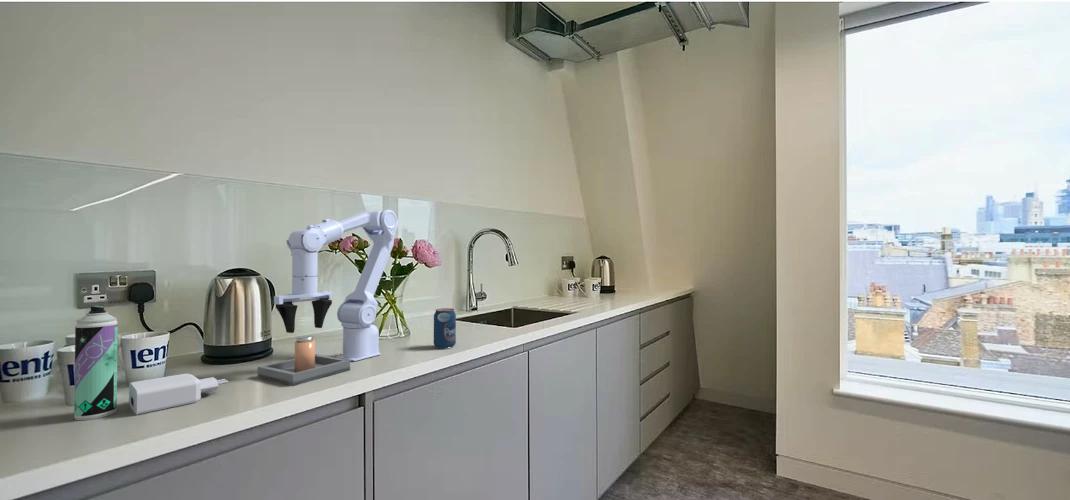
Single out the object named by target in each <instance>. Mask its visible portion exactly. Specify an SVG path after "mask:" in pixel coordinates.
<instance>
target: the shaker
mask: <svg viewBox="0 0 1070 500" xmlns="http://www.w3.org/2000/svg"><path fill="white" fill-rule="evenodd" d="M315 354H316V340H315V339H314V335H300V336H297V337H296V338H295V341H294V359H295V372H300V371H304V370H308V369H312V368H315Z"/></svg>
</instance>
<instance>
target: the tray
mask: <svg viewBox="0 0 1070 500" xmlns="http://www.w3.org/2000/svg"><path fill="white" fill-rule="evenodd" d="M347 371H351V361H350V360H346V359H340V358H336V357H333V356H328V355H324V354H323V355H322V354H316V353H315V368H312V369H308V370H304V371H300V372H295V358H291V359H288V360H287V359H285V360H283V361H278V362H273V363H269V364H264V365H259V366H257V378H258V379H263V380H268V381H272V382H276V383H280V384H284V385H288V386H293V387H294V386H298V385H301V384H304V383H308V382H312V381H315V380H321V379H322V378H326V377H330V376H334V375H336V374H341V373H344V372H347Z"/></svg>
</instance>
